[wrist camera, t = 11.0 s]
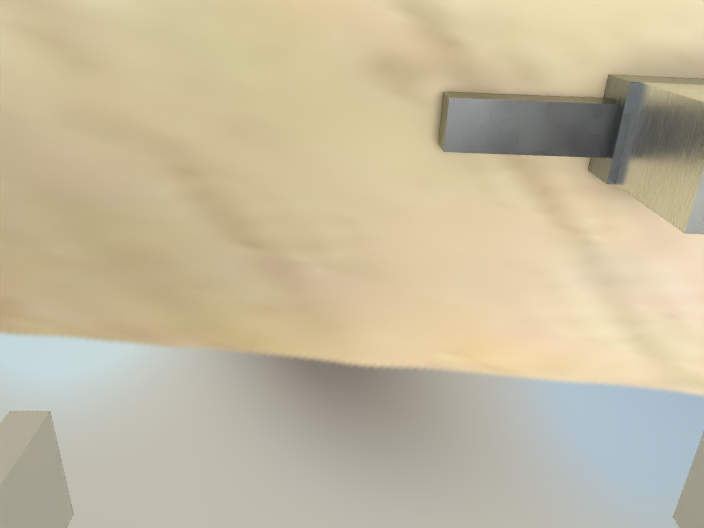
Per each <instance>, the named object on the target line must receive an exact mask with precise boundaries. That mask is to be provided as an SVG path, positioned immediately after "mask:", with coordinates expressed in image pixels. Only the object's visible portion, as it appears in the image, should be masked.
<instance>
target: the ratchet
mask: <svg viewBox="0 0 704 528" xmlns="http://www.w3.org/2000/svg"><path fill="white" fill-rule="evenodd" d="M640 82H649V83H673V84H698V85H704V79H699V78H675V77H651V76H627V75H609V76H608V80H607V85H606V90H605V94H604V98H586V97H561V96H537V95H512V94H487V93H462V92H444V93H443V103H442V113H441V122H440V132H439V142H438V144H439V145H440V147H441V148H442V150H443V152H462V153H489V154H516V155H543V156H569V157H591V160H590V164H589V169H588V170H589V171H590V172H591V173H593V174H594V175H595V176H597V177H598V178H599V179H601V180H602V181H604V182H605V183H606V184H616V180H617V176H618V172H619V168H620V163H621V159H622V155H623V151H624V146H625V142H626V138H627V134H628V130H629V125H630V121H631V117H632V113H633V108H634V104H635V100H636V96H637V92H638V87H639V83H640Z"/></svg>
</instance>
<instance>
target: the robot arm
mask: <svg viewBox="0 0 704 528" xmlns="http://www.w3.org/2000/svg"><path fill="white" fill-rule="evenodd" d="M73 514H74V513H73V509H72V504H71V500H70V496H69V491H68V487H67V482H66V478H65V474H64V469H63V465H62V460H61V456H60V452H59V447H58V443H57V438H56V434H55V430H54V425H53V421H52V416H51V412H50V411H10V412H9V413H8V415H7V416H6V417H5V418H4V420H3V421H2V422H1V424H0V528H67V527H68V525H69V522H70V520H71V519H72V516H73ZM673 518H674V520H675V521H676V523H677V524H678V526H679V527H680V528H704V433H703V436H702V438H701V441H700V444H699V447H698V449H697V452H696V455H695V457H694V460H693V463H692V466H691V469H690V471H689V474H688V477H687V479H686V482H685V485H684V488H683V490H682V493H681V496H680V499H679V501H678V504H677V507H676V510H675V512H674V515H673Z"/></svg>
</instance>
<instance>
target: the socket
mask: <svg viewBox="0 0 704 528" xmlns="http://www.w3.org/2000/svg"><path fill="white" fill-rule="evenodd" d="M616 185H617V186H619V187H620V188H621V189H623V190H624V191H626V192H627V193H628V194H630V195H631V196H633V197H634V198H635V199H637V200H638V201H640V202H641V203H643V204H644V205H645V206H647V207H648V208H650V209H651V210H652V211H654V212H655V213H657V214H658V215H659V216H661V217H662V218H664V219H665V220H666V221H668V222H669V223H671V224H672V225H673V226H675V227H676V228H678V229H679V230H680V231H682V232H683V233H687V234H704V85H698V84H673V83H649V82H640V83H639V87H638V92H637V96H636V100H635V104H634V108H633V113H632V117H631V121H630V125H629V130H628V134H627V138H626V142H625V146H624V151H623V155H622V159H621V163H620V168H619V172H618V176H617V180H616Z"/></svg>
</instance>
